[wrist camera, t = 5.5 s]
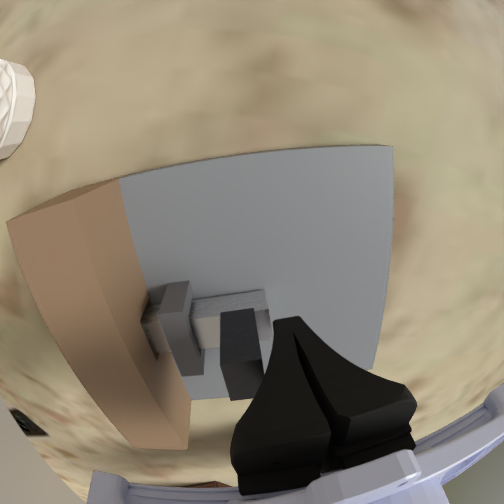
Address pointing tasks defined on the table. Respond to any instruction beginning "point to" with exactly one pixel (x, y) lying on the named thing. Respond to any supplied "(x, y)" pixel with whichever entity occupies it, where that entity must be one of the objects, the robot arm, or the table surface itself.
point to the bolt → (224, 336)
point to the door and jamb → (207, 269)
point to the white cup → (14, 105)
